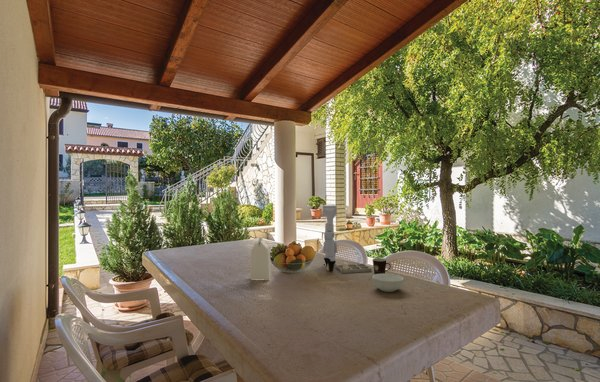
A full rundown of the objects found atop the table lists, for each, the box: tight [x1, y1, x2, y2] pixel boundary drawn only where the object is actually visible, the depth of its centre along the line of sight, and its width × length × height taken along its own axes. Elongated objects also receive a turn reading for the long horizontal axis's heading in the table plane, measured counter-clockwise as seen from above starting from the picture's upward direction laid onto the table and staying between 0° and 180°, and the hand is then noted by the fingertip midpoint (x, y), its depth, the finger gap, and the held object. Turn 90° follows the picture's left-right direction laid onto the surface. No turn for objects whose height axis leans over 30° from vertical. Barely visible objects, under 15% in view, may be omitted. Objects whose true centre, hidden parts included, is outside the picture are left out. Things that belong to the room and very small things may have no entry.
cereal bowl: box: [371, 273, 405, 293], centre depth 181 cm, size 17×17×7 cm
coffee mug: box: [372, 257, 392, 275], centre depth 210 cm, size 12×9×10 cm
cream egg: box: [342, 261, 349, 270], centre depth 218 cm, size 4×4×6 cm
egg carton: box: [335, 263, 372, 274], centre depth 223 cm, size 14×20×3 cm
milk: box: [250, 235, 272, 281], centre depth 209 cm, size 12×12×26 cm
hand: (329, 269), depth 222 cm, fingers open, 7 cm apart
